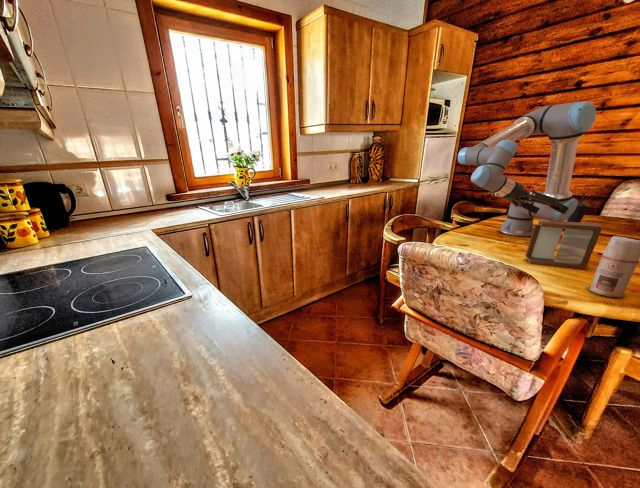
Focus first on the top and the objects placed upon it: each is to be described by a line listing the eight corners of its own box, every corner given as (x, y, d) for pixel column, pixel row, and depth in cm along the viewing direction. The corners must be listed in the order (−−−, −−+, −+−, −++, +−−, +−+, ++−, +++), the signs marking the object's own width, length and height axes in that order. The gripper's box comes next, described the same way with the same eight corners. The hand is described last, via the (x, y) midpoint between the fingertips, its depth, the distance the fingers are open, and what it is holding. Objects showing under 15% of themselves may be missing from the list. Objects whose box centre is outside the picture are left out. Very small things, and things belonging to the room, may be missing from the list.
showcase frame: (526, 259, 124) (538, 220, 117) (580, 264, 117) (596, 223, 110) (529, 263, 120) (542, 223, 113) (585, 269, 113) (603, 226, 106)
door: (525, 255, 124) (535, 224, 118) (551, 258, 120) (562, 226, 114) (526, 257, 122) (536, 225, 117) (552, 259, 119) (564, 227, 113)
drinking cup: (573, 225, 165) (585, 191, 157) (584, 229, 158) (598, 194, 150) (559, 226, 166) (570, 192, 158) (569, 229, 159) (582, 194, 151)
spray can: (580, 287, 100) (602, 234, 92) (601, 286, 100) (625, 233, 92) (607, 299, 92) (634, 242, 84) (630, 297, 92) (658, 240, 84)
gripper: (483, 198, 130) (522, 218, 131) (526, 195, 105) (574, 219, 106) (492, 183, 128) (531, 203, 129) (538, 177, 104) (586, 201, 105)
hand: (550, 211), depth 118 cm, fingers open, 13 cm apart
